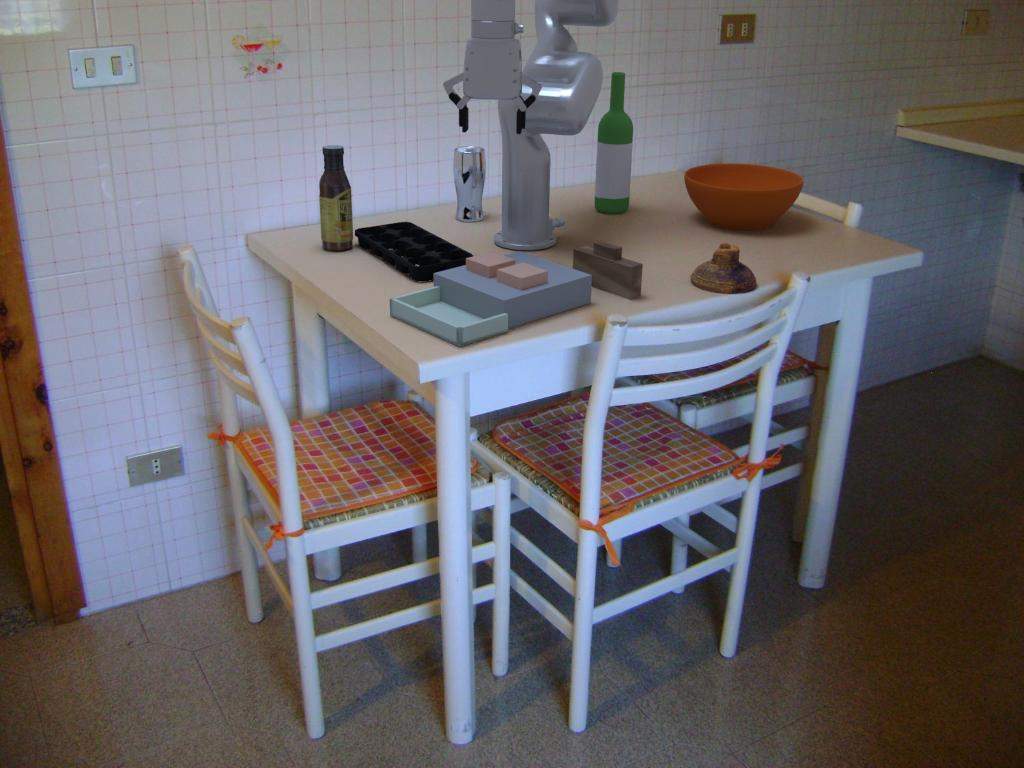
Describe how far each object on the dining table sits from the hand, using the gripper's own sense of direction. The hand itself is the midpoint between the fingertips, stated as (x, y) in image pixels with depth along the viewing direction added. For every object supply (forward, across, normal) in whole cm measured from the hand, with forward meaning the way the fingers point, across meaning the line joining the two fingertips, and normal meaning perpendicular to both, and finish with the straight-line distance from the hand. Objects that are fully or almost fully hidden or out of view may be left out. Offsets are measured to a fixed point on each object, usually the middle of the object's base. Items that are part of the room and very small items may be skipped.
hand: (492, 132), depth 189 cm
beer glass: (+25, +9, -35) cm, 44 cm away
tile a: (+21, -2, +16) cm, 26 cm away
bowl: (+25, -50, -42) cm, 69 cm away
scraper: (+26, -22, +7) cm, 34 cm away
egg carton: (+26, +16, -5) cm, 31 cm away
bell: (+26, -43, +2) cm, 50 cm away
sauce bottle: (+26, +32, -10) cm, 42 cm away
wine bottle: (+25, -22, -46) cm, 57 cm away
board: (+26, -6, +17) cm, 31 cm away
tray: (+26, +4, +29) cm, 39 cm away
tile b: (+21, -8, +21) cm, 31 cm away
